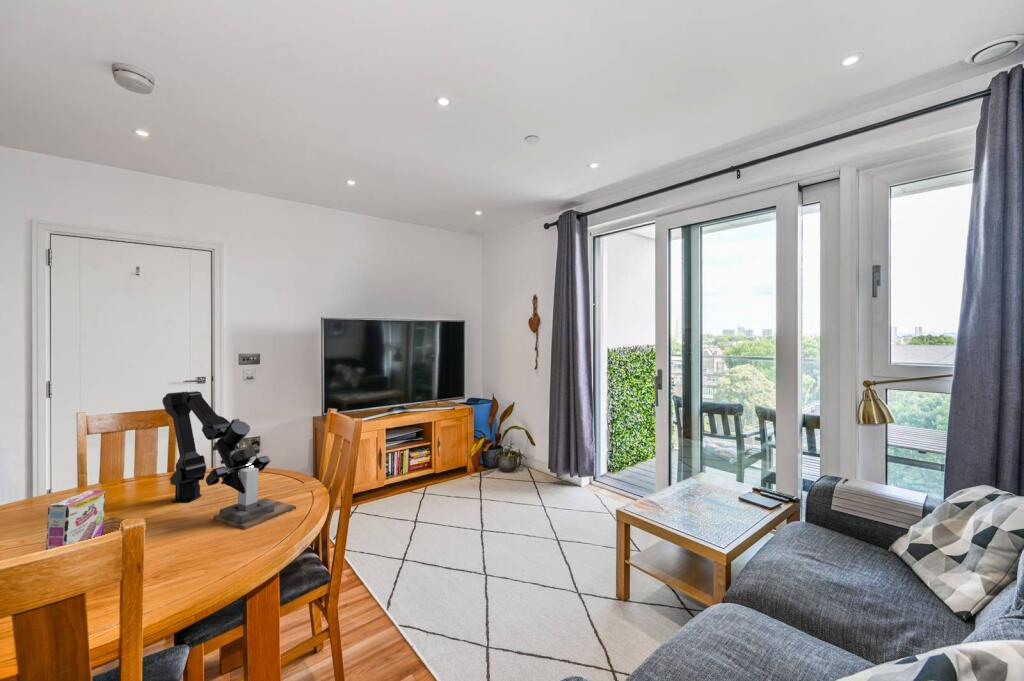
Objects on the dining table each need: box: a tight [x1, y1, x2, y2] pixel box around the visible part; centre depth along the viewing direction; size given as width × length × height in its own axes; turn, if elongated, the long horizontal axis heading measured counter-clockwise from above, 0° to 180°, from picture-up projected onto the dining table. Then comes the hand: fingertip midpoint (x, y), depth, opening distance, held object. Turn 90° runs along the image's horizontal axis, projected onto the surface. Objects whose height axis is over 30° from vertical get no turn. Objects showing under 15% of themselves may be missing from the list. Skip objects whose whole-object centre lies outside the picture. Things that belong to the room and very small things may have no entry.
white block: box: [237, 467, 260, 512], centre depth 140 cm, size 4×4×14 cm
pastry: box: [103, 516, 125, 535], centre depth 126 cm, size 9×7×4 cm
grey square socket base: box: [212, 497, 297, 530], centre depth 143 cm, size 16×18×4 cm
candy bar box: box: [45, 490, 106, 551], centre depth 112 cm, size 11×5×16 cm, turn 5°
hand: (250, 490), depth 140 cm, fingers closed on white block, 4 cm apart
